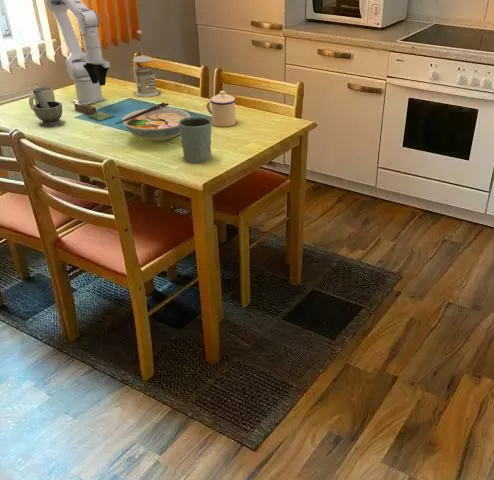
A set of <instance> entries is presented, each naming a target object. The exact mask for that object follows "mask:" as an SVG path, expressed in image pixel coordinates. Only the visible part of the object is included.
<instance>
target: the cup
mask: <svg viewBox="0 0 494 480" xmlns="http://www.w3.org/2000/svg"><path fill="white" fill-rule="evenodd" d="M35 89H41V93H42V95H43V96H44V98H45V100H46V102H47V101H56V97H55V93H54V89H53V87H52V86H38V87H34V88H32V90H31V91H32V94H31V95H29V98H28V105H29V107H30V109H31V111H33V112H34V113H35V111H34V105H35V104H38V103H39V102H38V100H37V98H36V95H35V94H34V93H33V91H34V90H35Z"/></svg>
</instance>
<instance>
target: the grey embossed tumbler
mask: <svg viewBox="0 0 494 480" xmlns="http://www.w3.org/2000/svg"><path fill="white" fill-rule="evenodd" d="M178 123H179V129H180V134H179V135H180V138H181V146H182V152H183V153H182V154H183V159H184V161H185V162H187V163H190V164H203V163H206V162H209V161H210V160H211V159H212V148H211V147H212V125H213V123H212V119H210V118H208V117H203V116H190V117H188V118H184V119H181V120H180V121H179V122H178Z"/></svg>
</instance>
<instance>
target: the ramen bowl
mask: <svg viewBox="0 0 494 480" xmlns="http://www.w3.org/2000/svg"><path fill="white" fill-rule="evenodd" d="M169 105H170V104H169V103H168V102H166V103H165V102H160V103H158V104H157V105H154V106H152V107H149V108H144V109H139V110H135V111H132V112H131V111H130V113H128V114H125V115H124V116H123V118H122V119H121V120H120V121H118V122H115V123H114V124H115V125H119V124H123V125H124V126H125V128H126V129H127V130H128V131H129V133H131V135H133V136H134V137H136V138H139V139H141V140H143V141H148V142H151V143H164V142H167V141H168V140H172V139H174V138H176V137H177V136H179V135H181V134H180V129H179V123H178V122H179V121H180V120H181V119H184V118H188V117H191V115H190V114H189V113H188V112H187V111H185V110H182V109H179V108H171V107H167V106H169Z"/></svg>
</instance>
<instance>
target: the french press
mask: <svg viewBox="0 0 494 480" xmlns="http://www.w3.org/2000/svg"><path fill="white" fill-rule="evenodd" d="M142 31H143V30H141V29H140V30H137V31H136V34H138V35H139V36H141V34H143V32H142ZM139 40H140V42H139V43H140V44H142V40H141V38H139ZM140 50H141V52H143V47H142V46H140ZM132 62H133V63H136V64H142V65H143V67H139V65H136V64H134V65H132V68H131V71H130V75H131V80H132V81H133V82H134V84H136V92H135V96H138V97H142V98H143V97H145V98H146V97H155V96H157V95H159V93H160V92H159V90H157V84H156V77H155V76H156V75H155V73H154V72H153V71H154V69H153V68H152V67H145V64H147V63H151V62H153V58H152V57H151V56H149V55H145V54H141V55H137V56H135V57H134V58H133V59H132ZM134 67H135V68H134ZM133 69H134V70H133ZM133 77H134V78H133Z"/></svg>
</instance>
